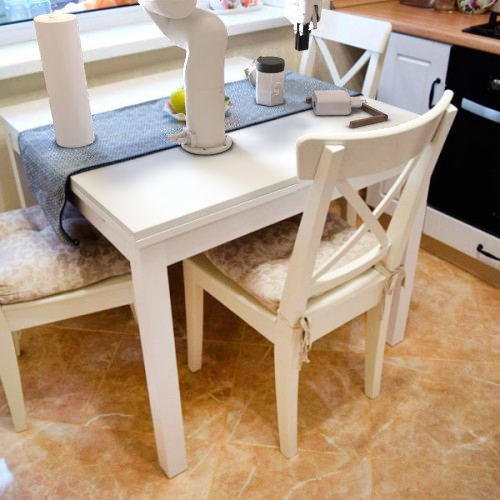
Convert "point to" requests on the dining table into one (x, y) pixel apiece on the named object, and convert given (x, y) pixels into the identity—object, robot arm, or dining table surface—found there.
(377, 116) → the brown bent bar
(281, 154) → the dining table surface
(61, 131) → the cylinder container
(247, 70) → the ceramic sculpture
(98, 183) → the dining table surface
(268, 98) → the jar
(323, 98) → the charger
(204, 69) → the robot arm
